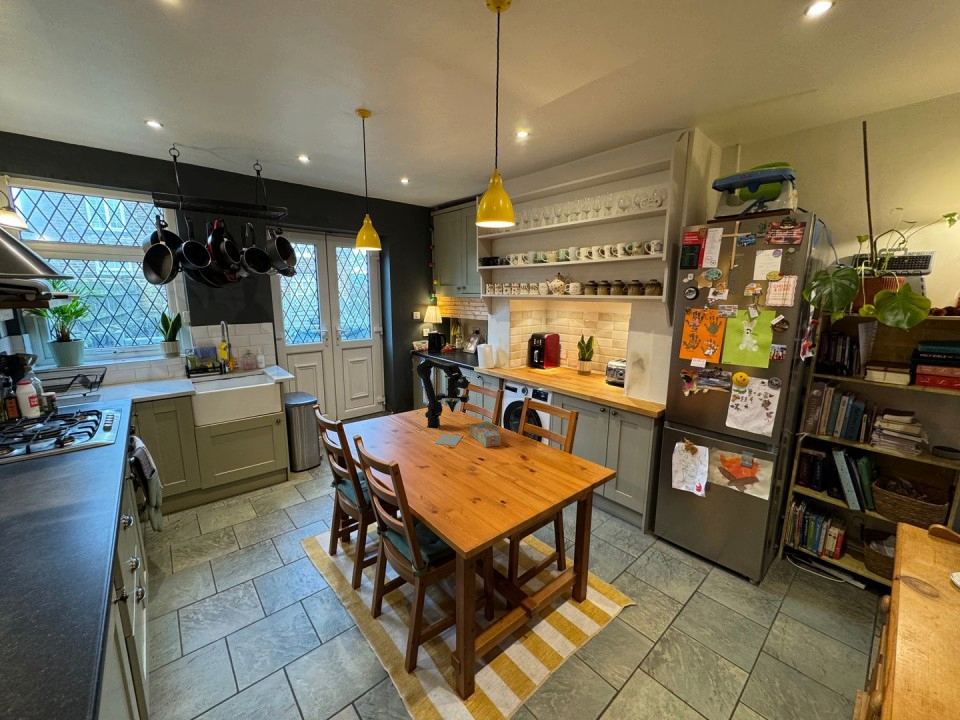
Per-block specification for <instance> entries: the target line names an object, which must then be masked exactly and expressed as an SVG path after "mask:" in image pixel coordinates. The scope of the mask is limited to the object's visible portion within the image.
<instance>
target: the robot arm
mask: <svg viewBox="0 0 960 720" xmlns="http://www.w3.org/2000/svg"><path fill="white" fill-rule="evenodd" d="M433 368H436V369H439V370H441V371H443V373H444V374H446V375H444V378H446V381H447V385H446V386H447V388H446V391H447V394H446V393H443V392H439V393H437V394H436V392H435V389H434V385H433V382H432V379H431V376H432V369H433ZM416 372H417V374H418V377H419V378H421V380H422V383H423V387H424V390H425V392H426V396H427V397H426V398H427V400H428V404H427V411H426V412H425V413H424V416H425V418H427V425H426V428H429V429H437V428H439V427H440V425H441V418H440V416H442V413H443V408H444V407H443V405H442V400H443V399H445V401H444V402H445V403H446V404H447V405H448V407H449V409H450V411H451V413H454V411H455V409H456V405H457V404H458V403H459V402H460V403H468V402H469V401H470V395H468V394H462V395H461V389H462V390H466V389H467V388H469V383H470V382H469V380H468V379H467V377H466V376H464V375H463V372H462V370H461V369H460V367H459V365H458V363H454V362H453V363H452V362H450V363H449V362H445V361H442V360H439V359H436V358H434V357H429V358H426V359H425V360H424V361H422V362H421V363H420V364H417V367H416Z"/></svg>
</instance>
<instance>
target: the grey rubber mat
mask: <svg viewBox="0 0 960 720" xmlns="http://www.w3.org/2000/svg"><path fill="white" fill-rule="evenodd" d="M462 438H463V435H458V434H450V433H449V434H448V433H442V434H441V435H440V436H439V438H438V439H437V440H436V441H435V442H434V444H435V445H441V444H442V445H443V446H452V447H454V446H455V447H456V446H457V445H458V444H459V442H460V441H461V440H462Z"/></svg>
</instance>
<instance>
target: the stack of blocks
mask: <svg viewBox="0 0 960 720" xmlns="http://www.w3.org/2000/svg"><path fill="white" fill-rule="evenodd" d="M469 435H470V436H472V438H474V439H475V440H476V441H478V443H480V444H481V446H483V447H484V448H490V447H495V446H497V445H498V446H501V441H502V439H501V437H502V436H501V433H499V428H498V427H497V426H496V425H495V424H493V423H492V422H490V421H489V420H486V421H480V422H476V423H470V424H469ZM498 446H497V447H498Z"/></svg>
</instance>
